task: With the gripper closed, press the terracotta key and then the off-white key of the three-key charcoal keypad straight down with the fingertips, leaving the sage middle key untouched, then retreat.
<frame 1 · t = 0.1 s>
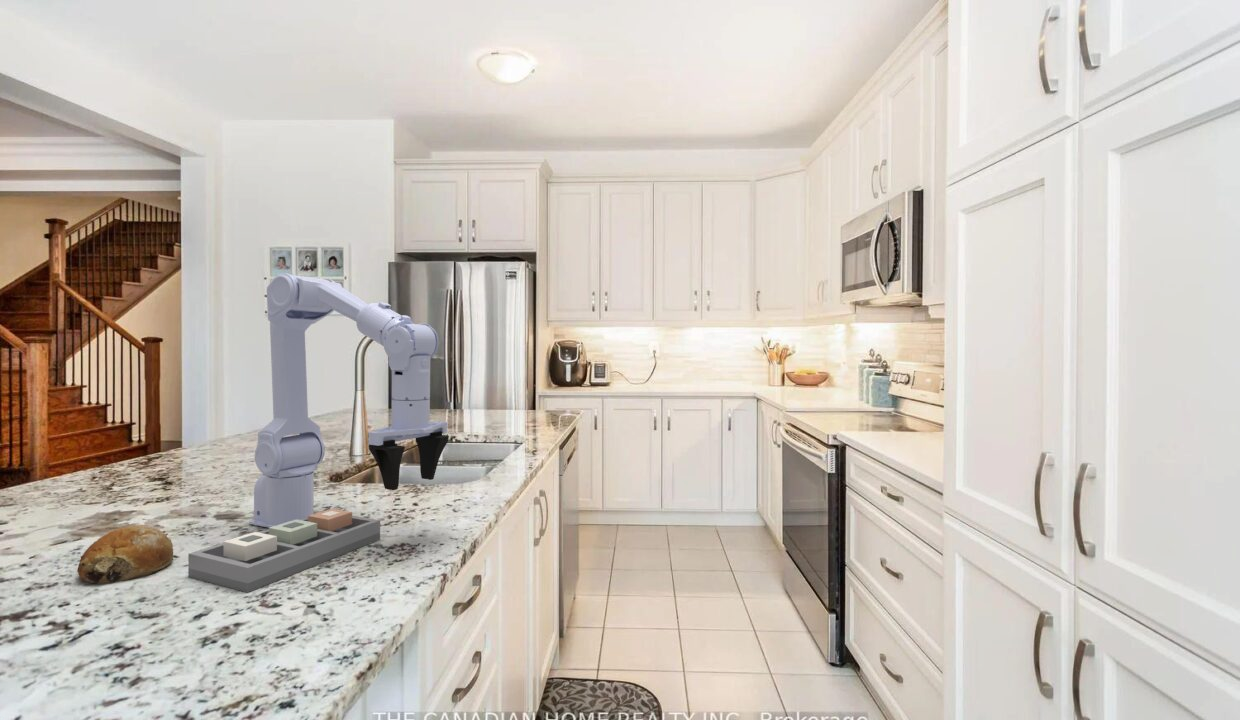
hand: (410, 483, 90), 10 cm above the countertop, fingers open, 7 cm apart
key sage: (293, 531, 84), point 4 cm above the countertop, slide at 0.0 cm
keypad board: (293, 556, 84), on the countertop
key offwhite: (250, 545, 78), point 4 cm above the countertop, slide at 0.0 cm
bread roll: (127, 572, 78), on the countertop
key terracotta: (330, 519, 90), point 4 cm above the countertop, slide at 0.0 cm
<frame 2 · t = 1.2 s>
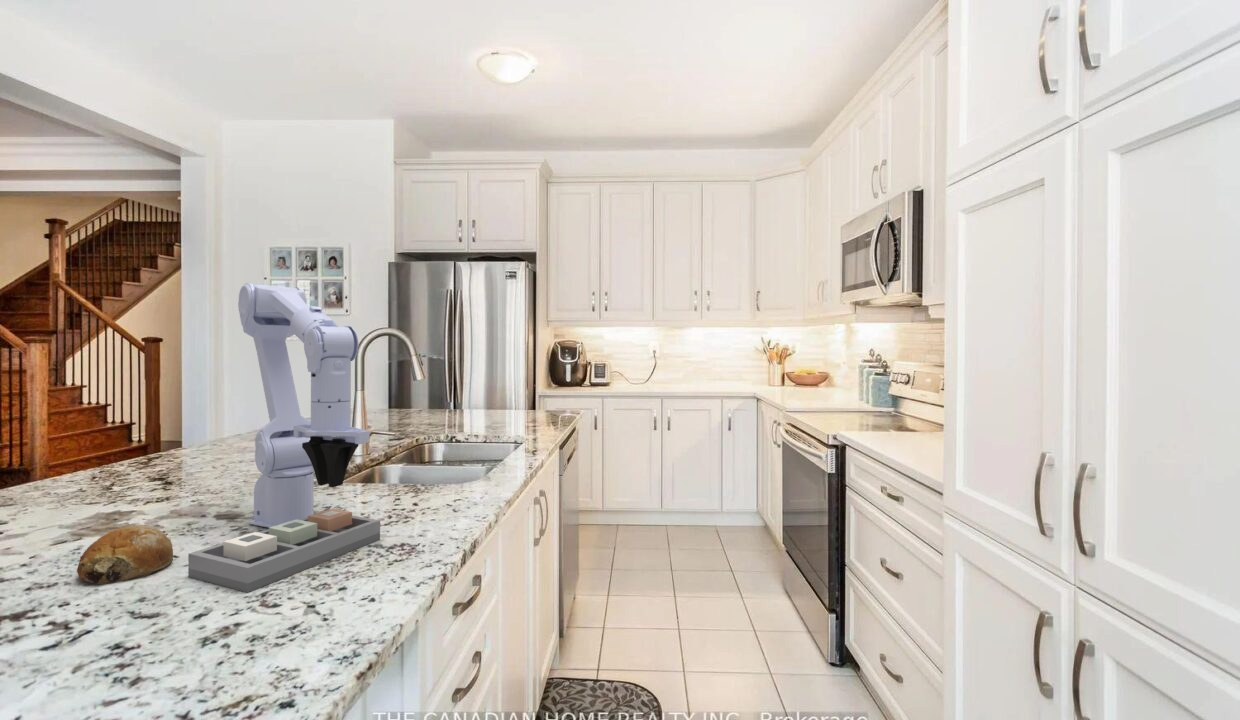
hand: (330, 484, 90), 9 cm above the countertop, fingers closed
nothing on the countertop moved.
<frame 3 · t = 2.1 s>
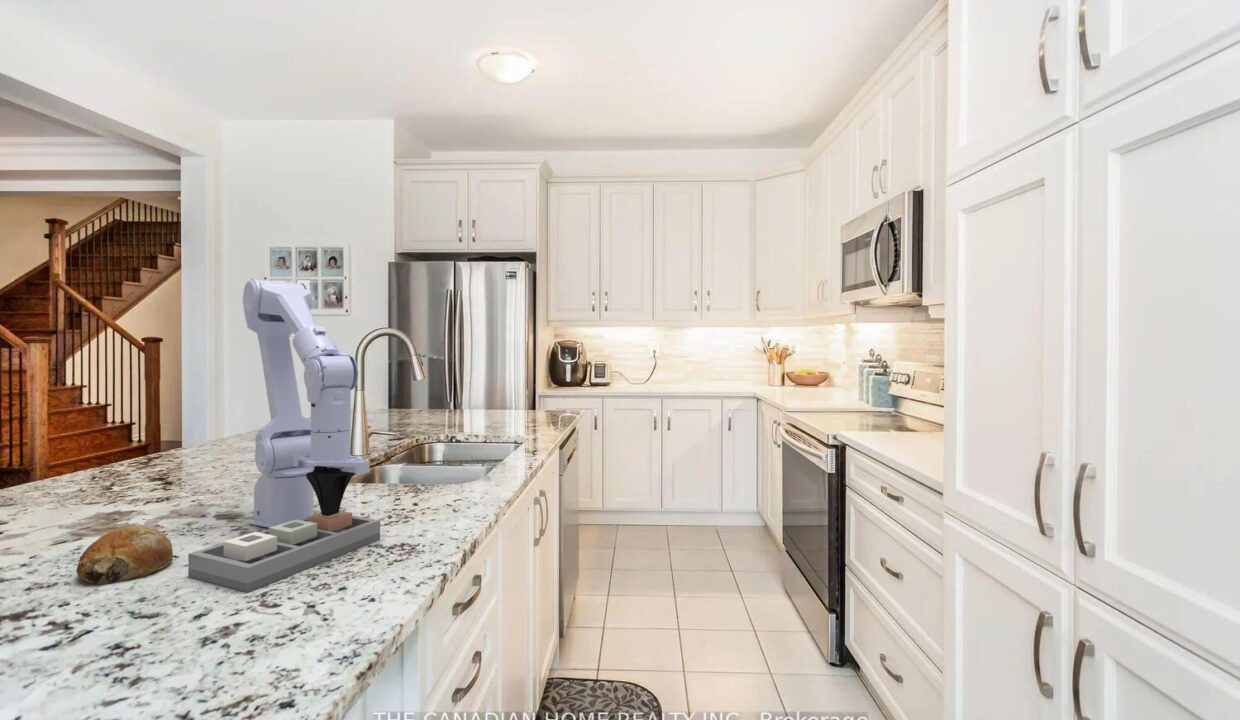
hand: (330, 514, 90), 5 cm above the countertop, fingers closed, pressing on key terracotta
key terracotta: (330, 520, 90), point 4 cm above the countertop, slide at 0.1 cm, touching gripper
everything else where it was.
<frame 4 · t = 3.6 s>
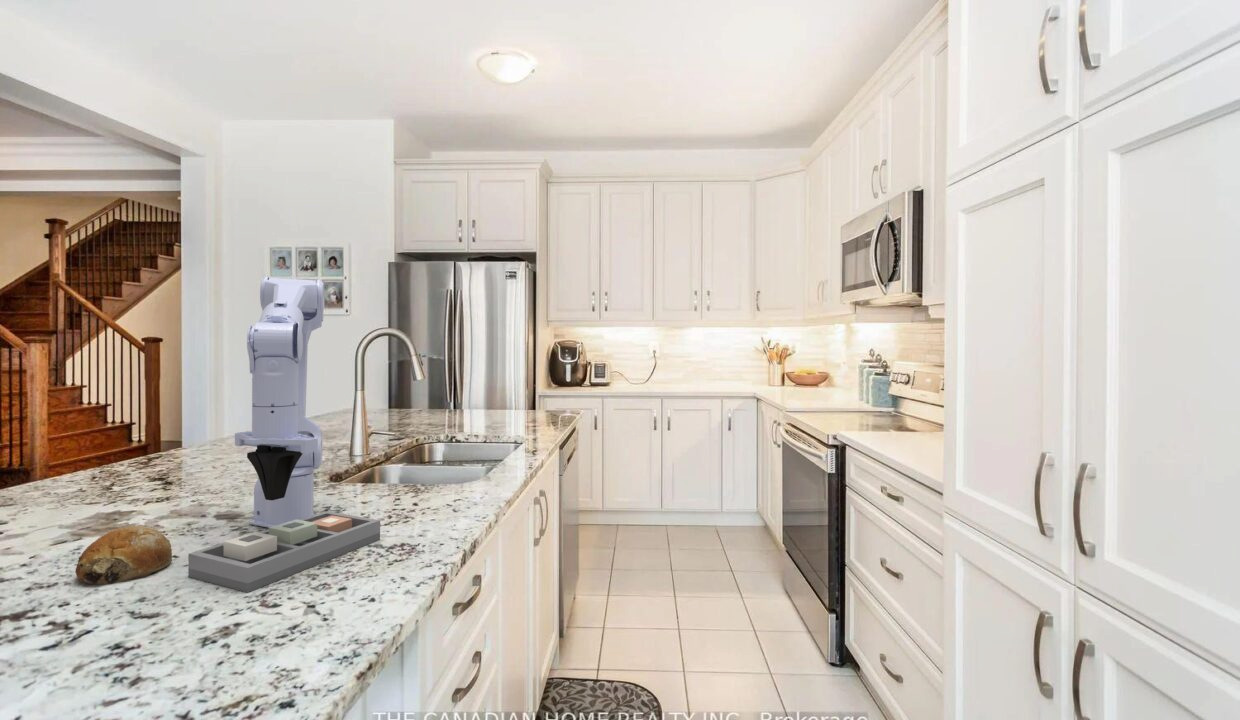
hand: (275, 498, 81), 10 cm above the countertop, fingers closed
key terracotta: (330, 526, 90), point 3 cm above the countertop, slide at 1.1 cm
everything else where it was.
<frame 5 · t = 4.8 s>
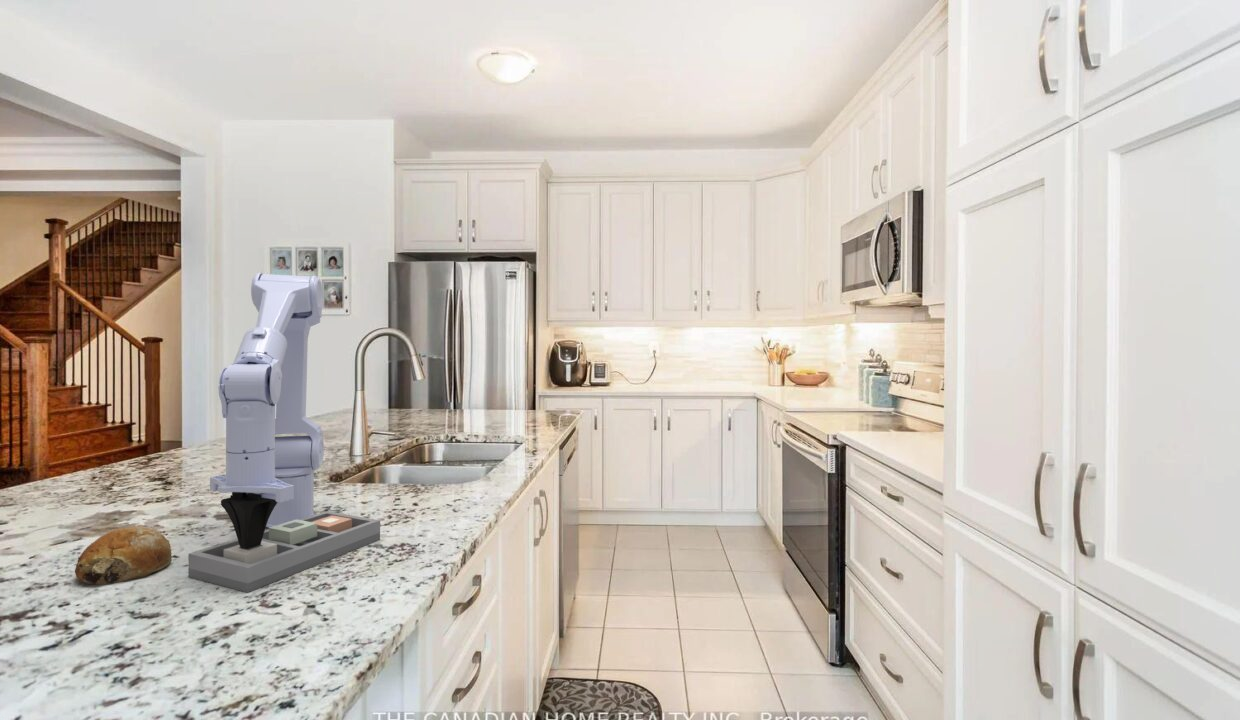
hand: (250, 546, 78), 4 cm above the countertop, fingers closed, pressing on key offwhite
key offwhite: (250, 553, 78), point 3 cm above the countertop, slide at 1.1 cm, touching gripper
everything else where it was.
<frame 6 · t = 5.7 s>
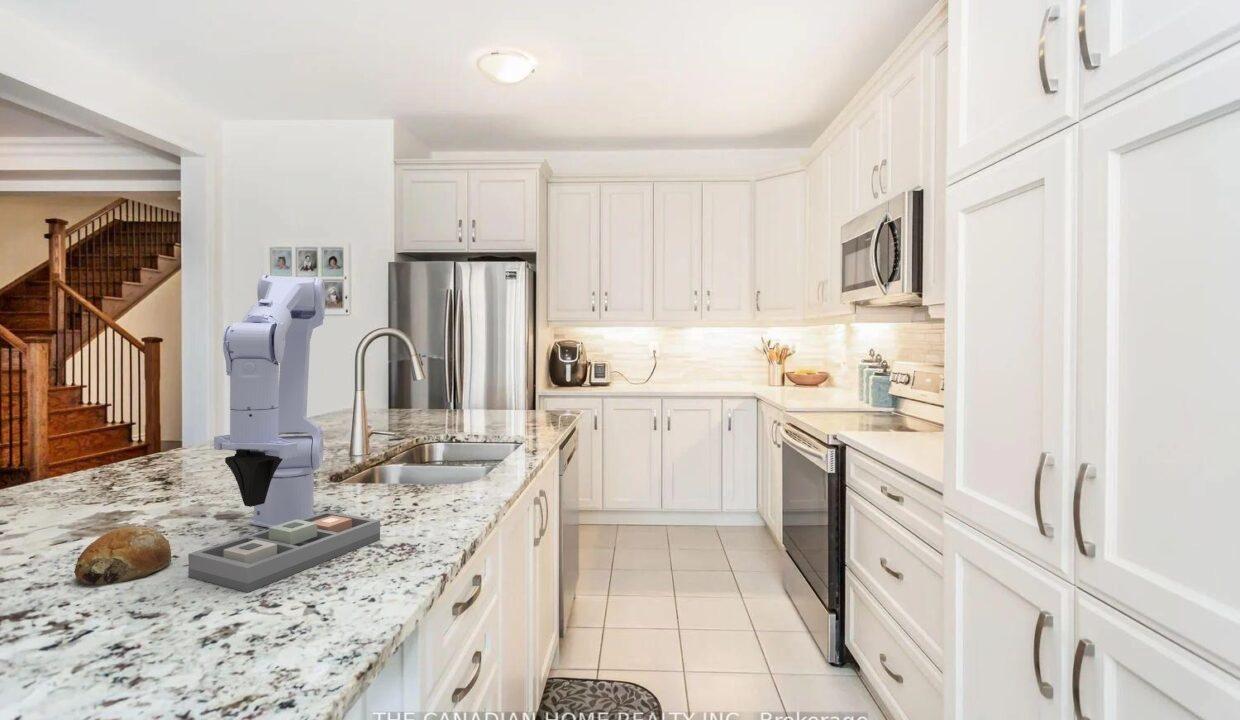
hand: (254, 504, 79), 9 cm above the countertop, fingers closed
key offwhite: (250, 553, 78), point 3 cm above the countertop, slide at 1.1 cm
everything else where it was.
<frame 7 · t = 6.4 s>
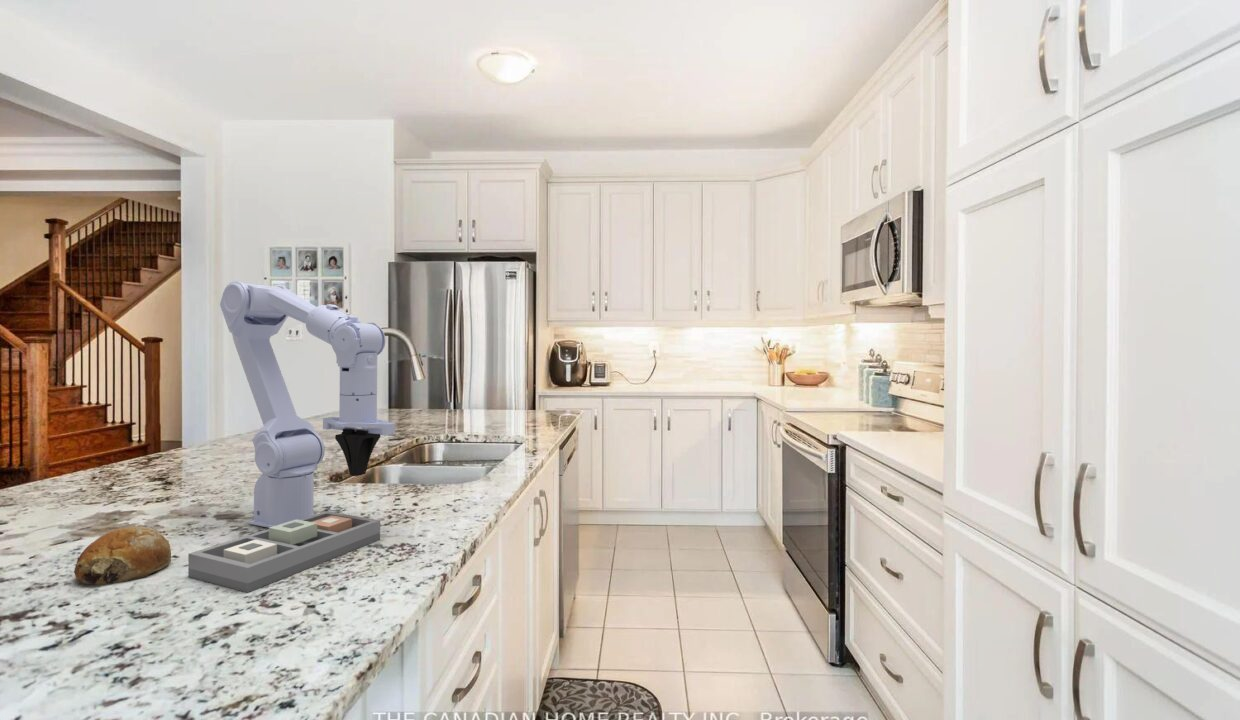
hand: (357, 474, 94), 10 cm above the countertop, fingers closed
nothing on the countertop moved.
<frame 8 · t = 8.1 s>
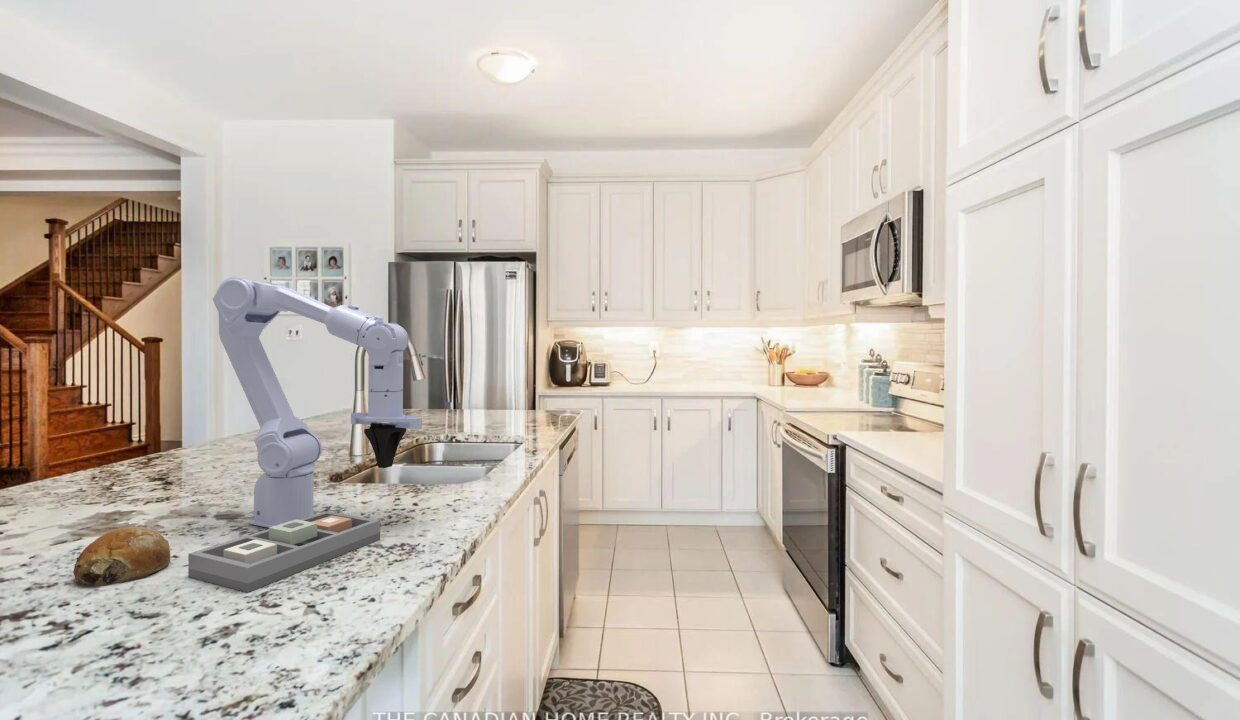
hand: (385, 466, 100), 10 cm above the countertop, fingers closed
nothing on the countertop moved.
at the end: key terracotta slide at 1.1 cm; key offwhite slide at 1.1 cm; key sage slide at 0.0 cm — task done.
